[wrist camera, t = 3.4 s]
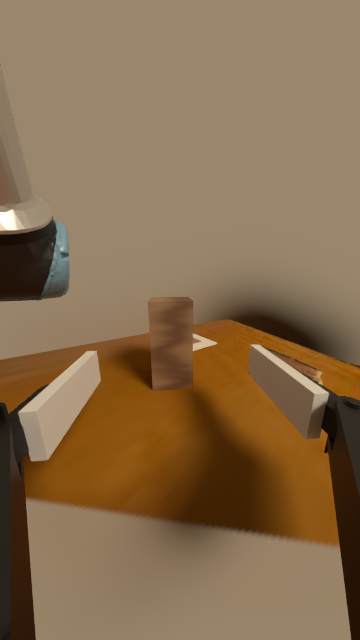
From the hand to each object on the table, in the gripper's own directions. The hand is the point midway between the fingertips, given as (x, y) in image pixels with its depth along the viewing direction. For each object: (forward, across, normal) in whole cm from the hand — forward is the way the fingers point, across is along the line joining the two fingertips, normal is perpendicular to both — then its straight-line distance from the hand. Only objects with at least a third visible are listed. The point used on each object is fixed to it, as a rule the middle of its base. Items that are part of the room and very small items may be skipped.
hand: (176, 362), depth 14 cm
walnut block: (+8, 0, -6) cm, 10 cm away
